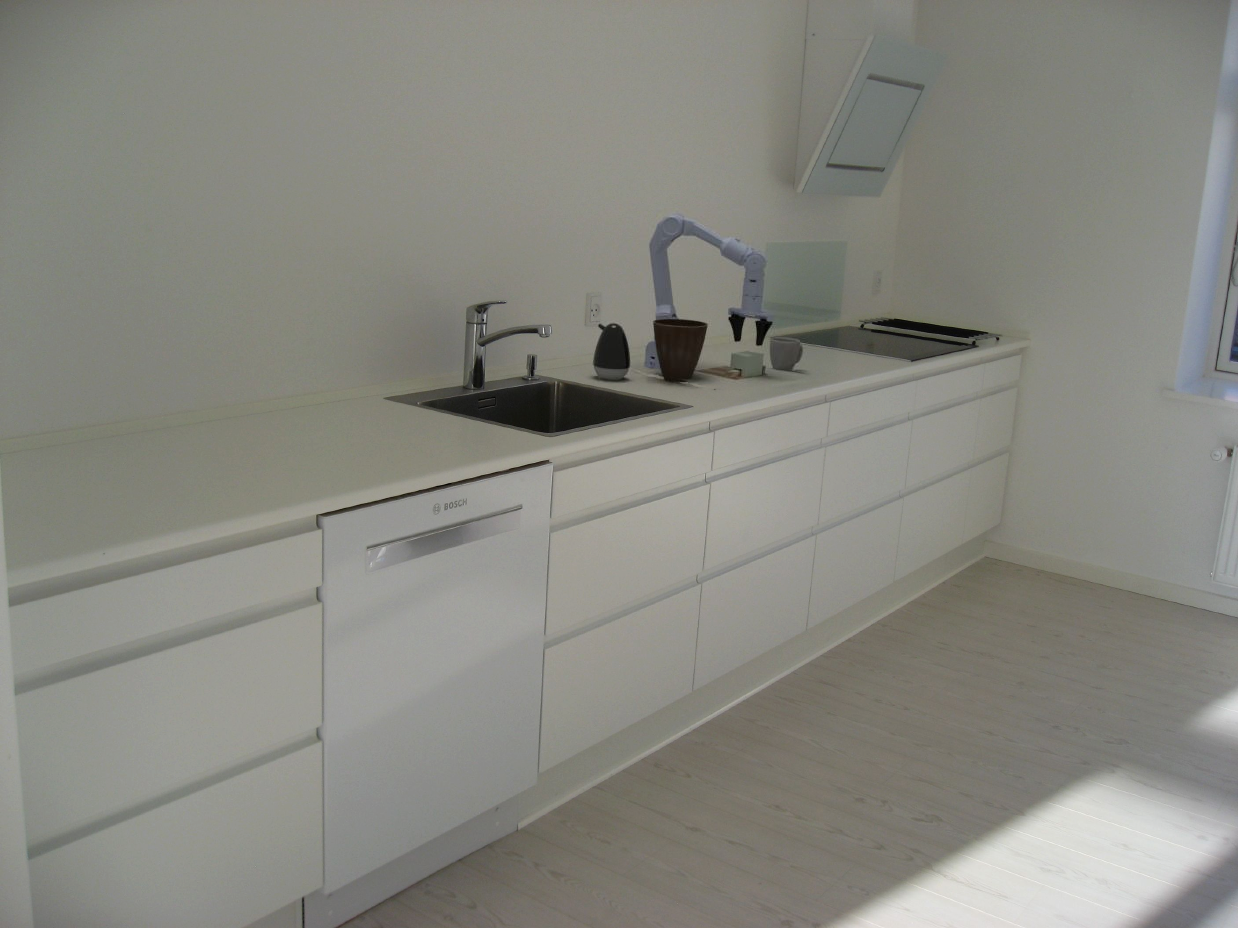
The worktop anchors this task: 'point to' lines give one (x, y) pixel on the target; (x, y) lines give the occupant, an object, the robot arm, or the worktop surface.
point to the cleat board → (721, 371)
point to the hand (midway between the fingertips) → (748, 343)
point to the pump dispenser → (611, 353)
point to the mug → (785, 353)
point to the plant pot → (678, 346)
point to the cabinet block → (747, 363)
